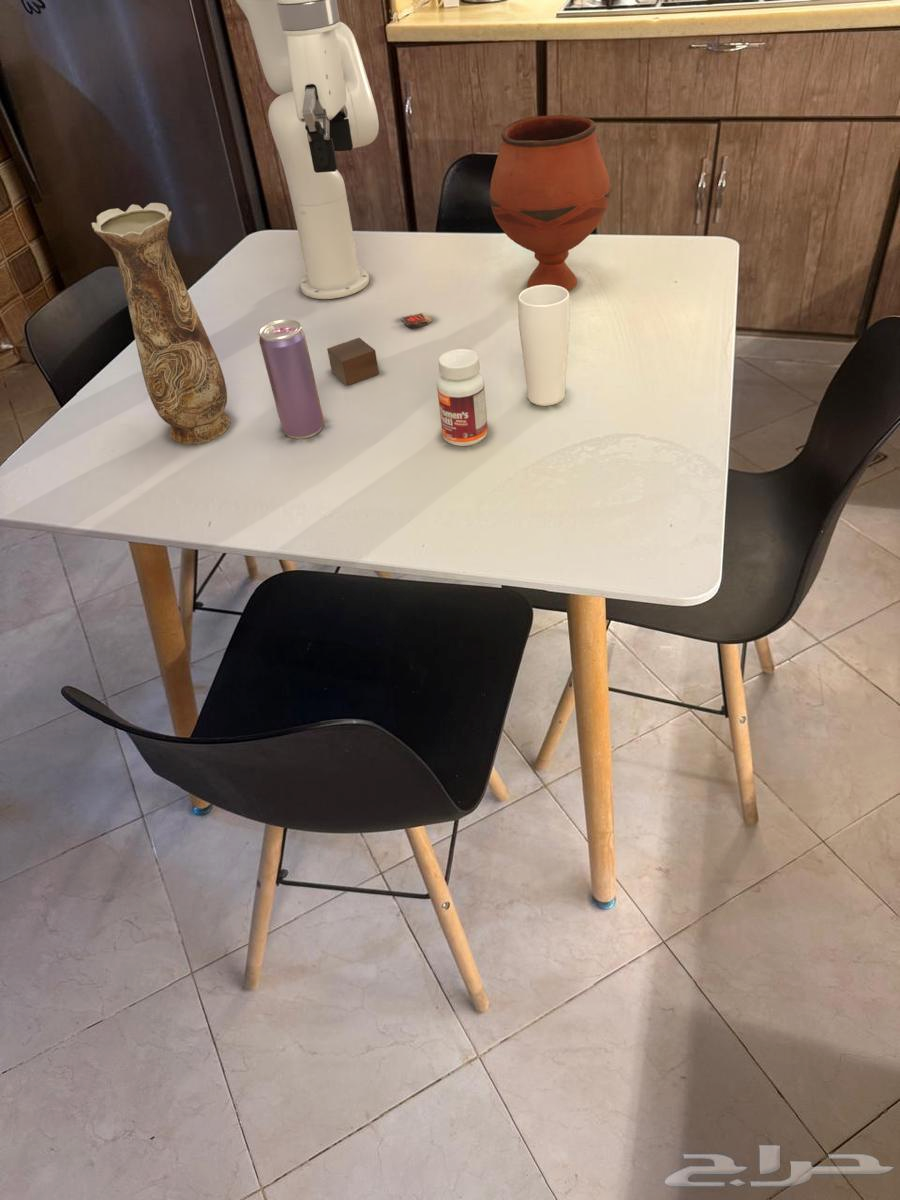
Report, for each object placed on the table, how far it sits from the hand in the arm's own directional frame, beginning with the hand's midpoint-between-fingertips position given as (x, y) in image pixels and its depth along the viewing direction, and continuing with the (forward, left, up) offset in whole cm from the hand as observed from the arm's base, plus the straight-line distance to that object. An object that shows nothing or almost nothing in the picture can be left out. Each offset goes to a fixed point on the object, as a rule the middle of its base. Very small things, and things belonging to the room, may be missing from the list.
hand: (334, 160), depth 122 cm
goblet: (+2, +35, -28) cm, 45 cm away
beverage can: (+18, -19, -28) cm, 38 cm away
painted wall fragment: (-1, +10, -28) cm, 29 cm away
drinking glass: (+33, +12, -28) cm, 45 cm away
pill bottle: (+34, -2, -28) cm, 44 cm away
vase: (+8, -31, -28) cm, 42 cm away
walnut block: (+8, -6, -28) cm, 29 cm away
